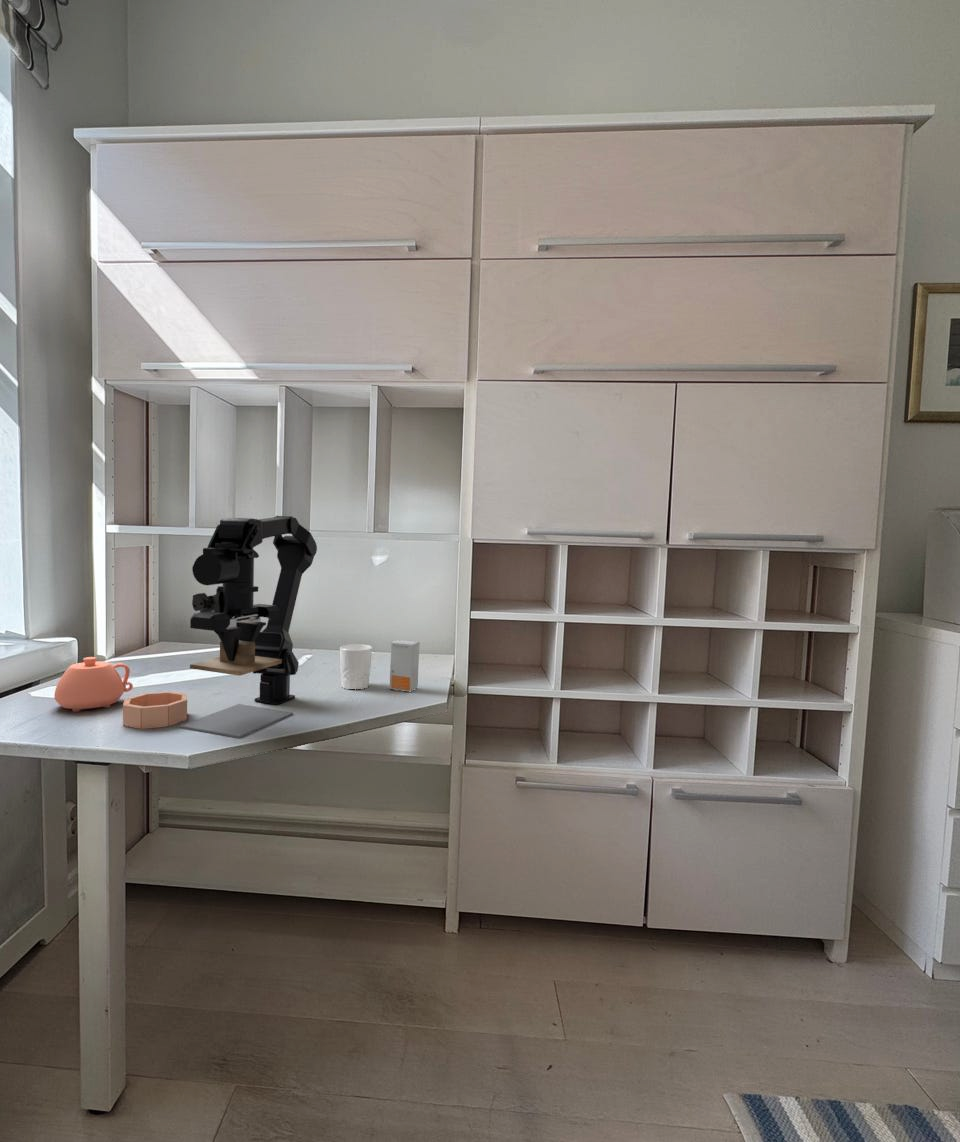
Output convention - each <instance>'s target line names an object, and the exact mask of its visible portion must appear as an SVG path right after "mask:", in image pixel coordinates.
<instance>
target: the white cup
mask: <svg viewBox="0 0 960 1142" xmlns="http://www.w3.org/2000/svg"><path fill="white" fill-rule="evenodd" d="M372 654H373V646H371V645H368V644H359V643H357V644H355V643H351V644H344V645H341V646H340V647H339V663H340V664H339V665H340V678H341V682H340V683H341V688H342V687H343V688H342V689H344V688H345V689H344V690H348V689H355V690H354V691H357V690H356V689H361V690H365V689H367V688H369V687H368V686H370V675H371V671H372V670H371V667H372ZM364 688H365V689H364Z"/></svg>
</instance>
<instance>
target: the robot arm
mask: <svg viewBox="0 0 960 1142" xmlns="http://www.w3.org/2000/svg"><path fill="white" fill-rule="evenodd" d="M288 534H289V535H288ZM283 535H284V536H283ZM268 538H273V540H272V544H273V545H274V546H273V547H274V548H275V549H276V551H277V555H276V558H277V560H278V562H279V566H280V572H279V576H278V580H277V585H276V587H275V592H274V595H273V598H272V599H273V600H272V604H265V603H257V604H256V603H255V604H254V594H255V593H257V592H259V586H257V585H256V586H255V585H254V583H255V581H254V580H255V579H254V577H255V575H254V574H255V573H254V572H255V559H258V558H259V557H260V555H259V553H258V552H257V551H256V550H255V549H254V548H255V547H256V546H259V545H260V544H262V543H263V540H264V539H268ZM317 551H318V547H317V542H316V541H315V538H314V537H313V534H312V533H311V532H310V531H309V530H307V528H305V527H304V526H303V525H301V524H300V523H299V521H298V519H297V518H296V517H294V516H291V515H290V516H287V515H276V516H273V517H268V518H260V519H257V518H250V517H249V518H248V517H247V518H245V517H223V518H220V520H219V523H218V524H217V526H216V527H215V529H214V532H213V534H212V537H211V538H210V541H209V543H208V544H207V547H203V548H202V554H201V555H198V557H197V558H196V559H195V560H194V562H193V565H192V568H191V571H192V575H193V577H194V579H195V581H196V582H198V583H199V584H200V585H203V586H214V585H218V586H217V588H216V591H215V592H216V594H212V595H207V594H206V593H205V592H202V593H201V592H199V593H196V594H193V595H192V602H191V605H192V608H193V610H194V611H195V612H194V613H193V614H192V616H191V617H190V619H189V620H190V624H189V625H190V627H189V628H190V629H193V630H201V631H202V630H203V631H213V632H214V633H215V634H216V635H217V636H218V638H219V639H220V642H222V645H223V647H224V650H225V653H226V655H227V658H228V660H229V661H234V659H235V656H236V652H237V648H238V643H239V640H241V641H249V642H255V656H260V657H268V658H276V659H282V663H281V664H277V665H274V666H271V667H267V668H264V669H261V670H257V671H254V672H252V674H255V675H256V674H259V675H260V679H259V680H260V682H259V696H258V697H255V698H254V702H259V703H266V704H271V705H280V704H282V703H286V702H287V701H290V700H292V699H295V698H296V695H294V694H290V691H291V689H290V688H291V687H290V686H291V685H290V682H291V676H295V675H297V672H298V670H299V660H298V659H297V657H296V656H295V654H294V652H293V647H294V643H293V641H292V639H291V636H290V633H289V632H290V627H291V623H292V620H293V615H294V610H295V605H296V603H297V597H298V594H299V590H300V589H299V588H300V585H301V580H302V576H303V574H304V573H305V572H306V571H307V570H308V569H309V568H310V567H311V566H312V564H313V561H314V559H315V556H316V554H317ZM220 584H221V585H220ZM219 585H220V586H219ZM261 618H267V622H264V621H263V622H262V621H261V620H262V619H261ZM265 626H266V627H265ZM264 627H265V628H264ZM263 628H264V629H263ZM262 629H263V630H262Z"/></svg>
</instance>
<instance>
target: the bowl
mask: <svg viewBox="0 0 960 1142" xmlns="http://www.w3.org/2000/svg"><path fill="white" fill-rule="evenodd" d="M187 720H188V694H187V693H182V692H178V691H169V690H167V691H159V692H158V691H157V692H155V691H154V692H146V693H141V694H137V695H133V696H130V697H127V698H125V699H124V701H123V704H122V726H123V725H125V726H124V727H128V726H129V728H135V729H140V730H144V729H154V728H163V727H165V728H166V727H170V726H173V725H177V724H178V722H179V723H181V721H182V722H183V721H184V722H185V721H187Z"/></svg>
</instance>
